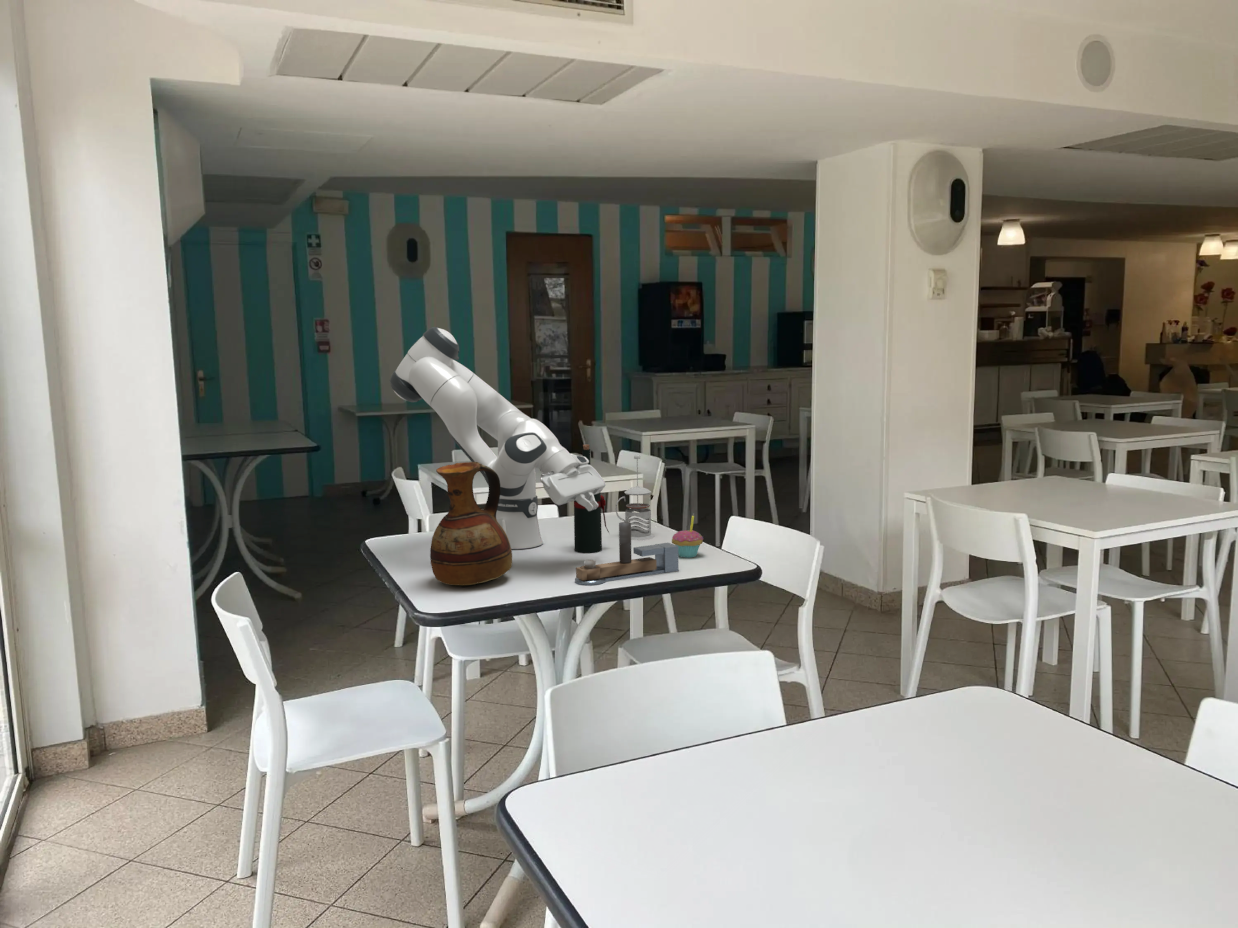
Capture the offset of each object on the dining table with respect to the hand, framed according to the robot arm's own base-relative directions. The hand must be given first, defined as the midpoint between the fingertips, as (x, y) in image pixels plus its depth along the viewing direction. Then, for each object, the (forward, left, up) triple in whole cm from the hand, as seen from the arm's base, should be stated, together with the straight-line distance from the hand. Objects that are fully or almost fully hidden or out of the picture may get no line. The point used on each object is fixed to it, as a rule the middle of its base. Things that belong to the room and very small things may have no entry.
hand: (594, 508), depth 239 cm
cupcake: (+13, +26, -16) cm, 33 cm away
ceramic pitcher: (-20, -25, -16) cm, 36 cm away
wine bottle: (-14, +19, -16) cm, 29 cm away
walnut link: (+9, -4, -15) cm, 18 cm away
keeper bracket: (+10, -1, -16) cm, 19 cm away
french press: (-13, +40, -16) cm, 45 cm away
